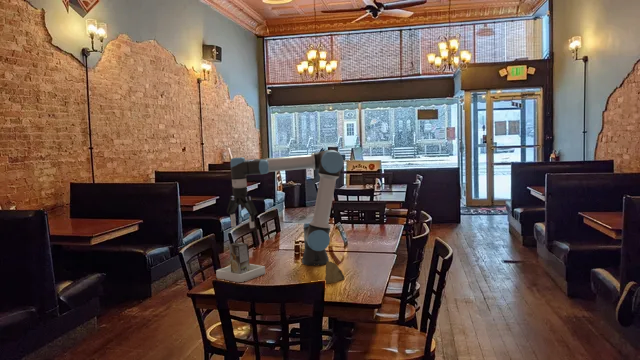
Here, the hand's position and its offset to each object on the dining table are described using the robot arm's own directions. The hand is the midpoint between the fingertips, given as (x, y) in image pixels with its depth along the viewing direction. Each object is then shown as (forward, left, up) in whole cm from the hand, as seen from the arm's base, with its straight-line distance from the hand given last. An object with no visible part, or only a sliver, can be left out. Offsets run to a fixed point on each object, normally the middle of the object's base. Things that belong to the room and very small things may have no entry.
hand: (242, 227), depth 250 cm
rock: (-49, -13, -26) cm, 57 cm away
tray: (0, +3, -26) cm, 26 cm away
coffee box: (+1, +3, -25) cm, 25 cm away
